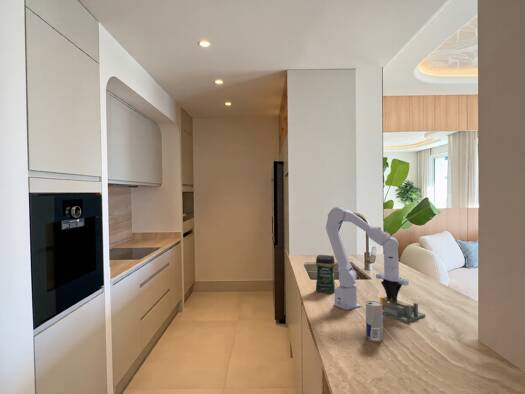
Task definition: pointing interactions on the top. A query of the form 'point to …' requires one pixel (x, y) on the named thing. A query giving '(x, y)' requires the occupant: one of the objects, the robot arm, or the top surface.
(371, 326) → the energy drink
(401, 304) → the clamp bar
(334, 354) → the top surface
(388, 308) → the clamp board
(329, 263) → the coffee jar
